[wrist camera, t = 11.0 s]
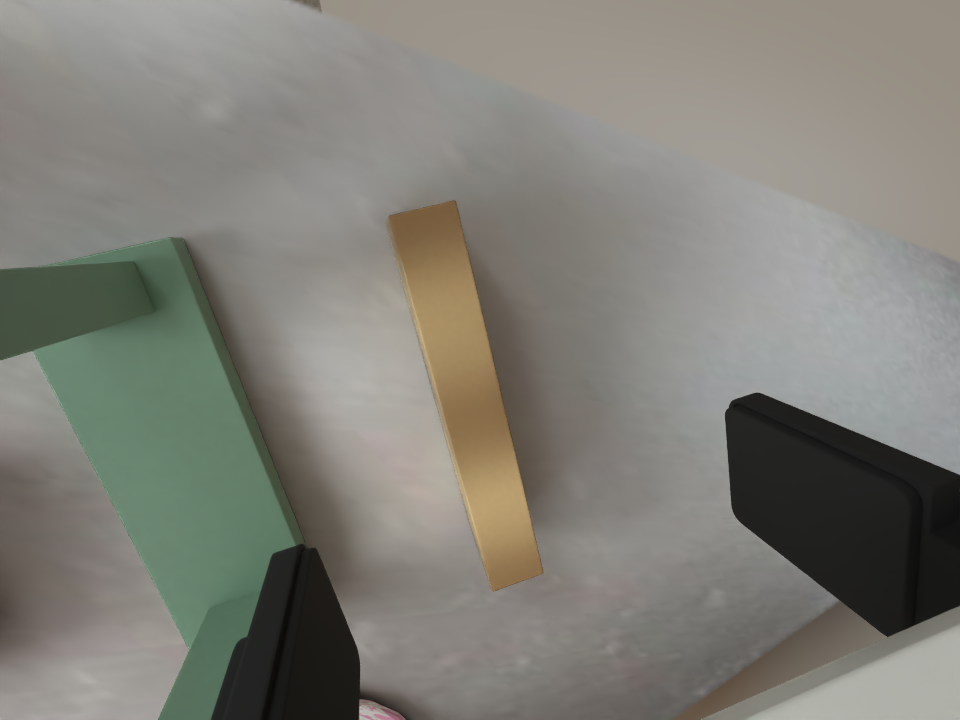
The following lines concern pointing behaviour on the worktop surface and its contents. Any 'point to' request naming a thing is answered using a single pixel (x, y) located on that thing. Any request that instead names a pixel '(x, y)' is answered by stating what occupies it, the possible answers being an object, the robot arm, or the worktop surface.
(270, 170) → the worktop surface
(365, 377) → the worktop surface
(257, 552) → the hanger stand
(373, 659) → the worktop surface
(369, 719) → the teacup
